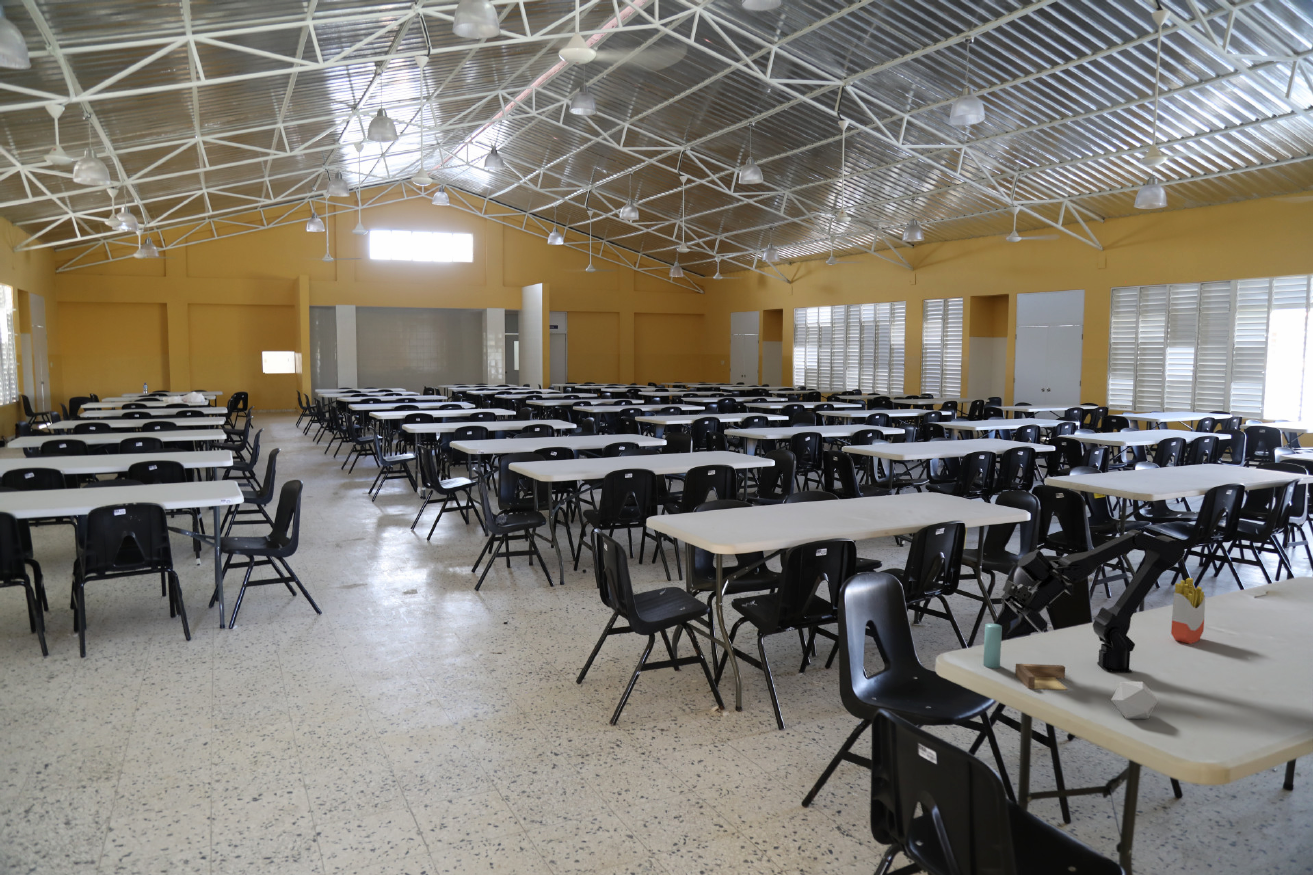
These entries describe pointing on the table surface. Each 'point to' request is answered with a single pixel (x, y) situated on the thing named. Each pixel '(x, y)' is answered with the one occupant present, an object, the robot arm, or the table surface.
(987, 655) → the cylindrical block
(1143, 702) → the die
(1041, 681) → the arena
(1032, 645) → the table surface
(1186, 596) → the french fries container
